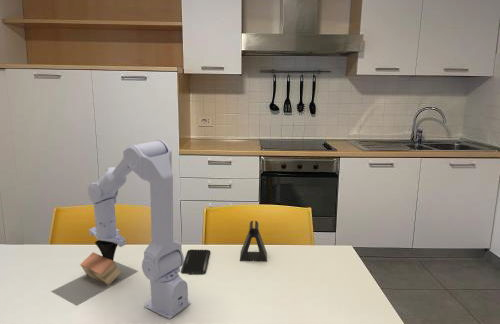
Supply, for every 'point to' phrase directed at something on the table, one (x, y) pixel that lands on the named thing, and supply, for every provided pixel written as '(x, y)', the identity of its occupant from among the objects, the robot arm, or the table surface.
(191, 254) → the phone
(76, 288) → the rubber mat
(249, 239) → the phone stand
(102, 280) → the oak block
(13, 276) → the table surface
